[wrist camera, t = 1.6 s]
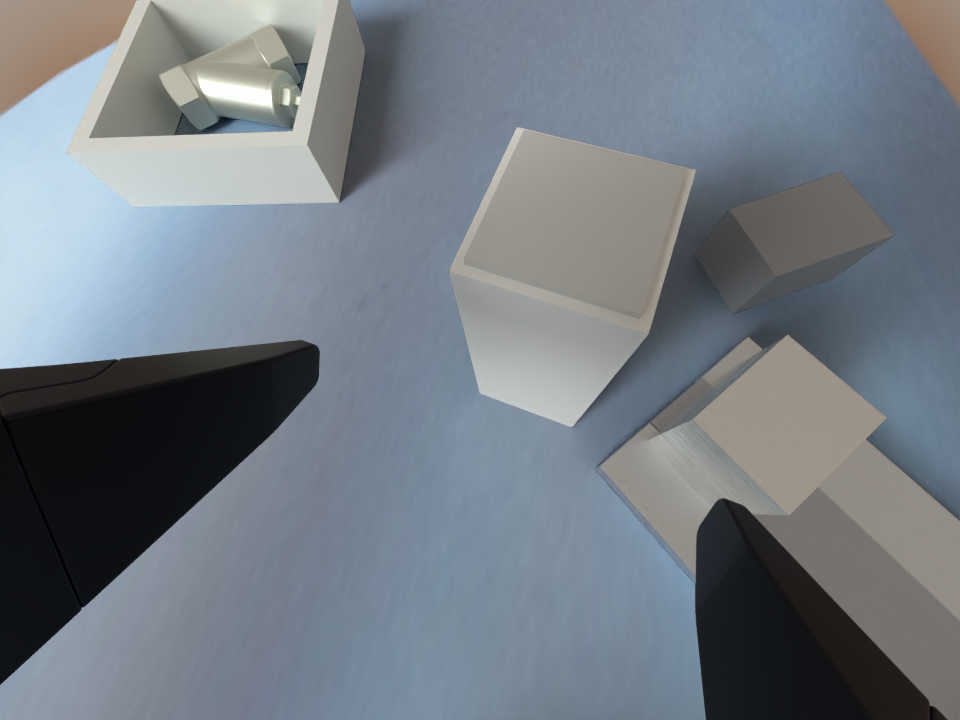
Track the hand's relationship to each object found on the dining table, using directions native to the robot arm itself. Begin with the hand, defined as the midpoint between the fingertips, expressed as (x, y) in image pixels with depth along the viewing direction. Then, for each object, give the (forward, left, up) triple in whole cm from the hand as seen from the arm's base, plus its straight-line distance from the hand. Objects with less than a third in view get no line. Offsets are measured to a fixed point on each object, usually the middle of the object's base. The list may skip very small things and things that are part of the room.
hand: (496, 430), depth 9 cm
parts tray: (-18, +23, -12) cm, 32 cm away
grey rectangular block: (+14, +11, -12) cm, 22 cm away
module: (+2, +5, -12) cm, 13 cm away
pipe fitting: (-18, +25, -12) cm, 33 cm away
